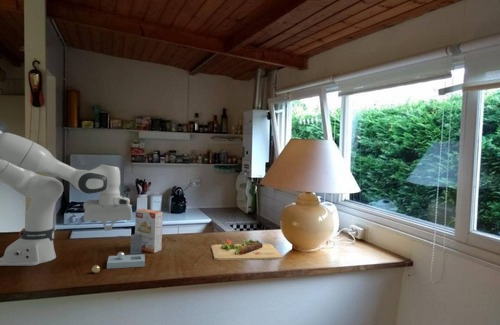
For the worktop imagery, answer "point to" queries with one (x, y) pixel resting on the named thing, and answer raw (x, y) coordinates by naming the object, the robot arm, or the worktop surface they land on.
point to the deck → (126, 261)
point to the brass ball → (95, 268)
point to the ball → (120, 255)
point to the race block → (136, 244)
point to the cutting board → (245, 251)
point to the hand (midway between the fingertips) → (108, 230)
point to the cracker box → (149, 229)
